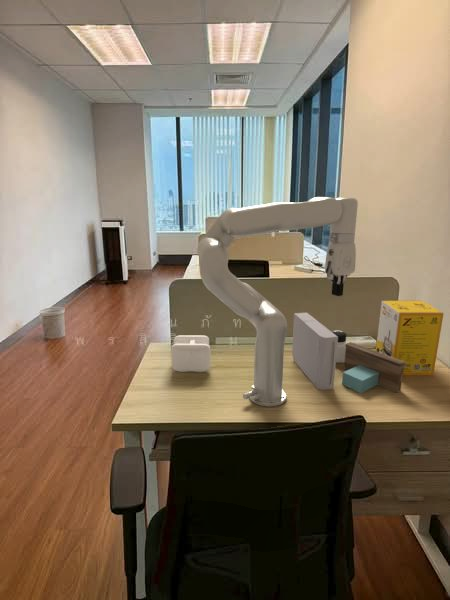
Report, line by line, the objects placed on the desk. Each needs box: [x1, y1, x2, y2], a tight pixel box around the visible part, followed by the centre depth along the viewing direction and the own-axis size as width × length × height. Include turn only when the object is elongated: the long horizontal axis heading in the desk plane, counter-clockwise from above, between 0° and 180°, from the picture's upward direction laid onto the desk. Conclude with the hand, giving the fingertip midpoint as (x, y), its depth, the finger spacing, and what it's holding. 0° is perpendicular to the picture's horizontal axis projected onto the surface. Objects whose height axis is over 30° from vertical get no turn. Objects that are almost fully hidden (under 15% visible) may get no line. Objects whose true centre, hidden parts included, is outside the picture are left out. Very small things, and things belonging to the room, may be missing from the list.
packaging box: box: [375, 300, 444, 376], centre depth 152 cm, size 16×16×25 cm
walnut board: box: [343, 341, 405, 394], centre depth 142 cm, size 3×22×11 cm, turn 37°
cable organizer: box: [170, 334, 212, 373], centre depth 152 cm, size 15×11×12 cm
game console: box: [291, 312, 338, 391], centre depth 147 cm, size 6×27×20 cm, turn 11°
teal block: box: [341, 365, 379, 394], centre depth 140 cm, size 10×8×5 cm
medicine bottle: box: [331, 330, 347, 364], centre depth 160 cm, size 7×7×12 cm
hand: (337, 294), depth 126 cm, fingers closed
